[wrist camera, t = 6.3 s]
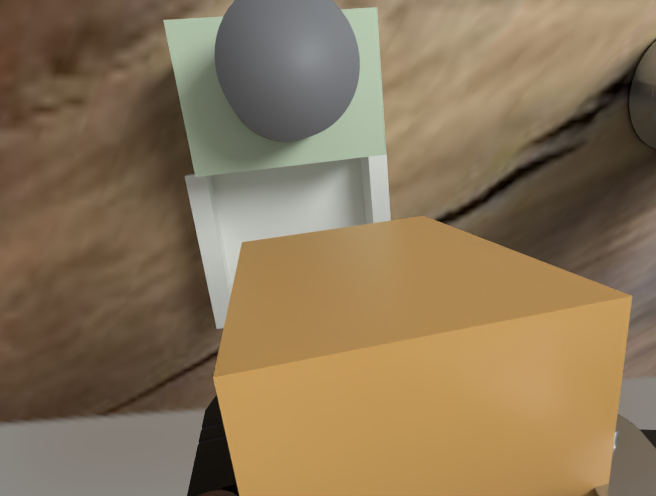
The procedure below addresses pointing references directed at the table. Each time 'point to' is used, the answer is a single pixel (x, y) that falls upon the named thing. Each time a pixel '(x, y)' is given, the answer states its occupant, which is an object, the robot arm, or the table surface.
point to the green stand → (279, 125)
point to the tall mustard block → (417, 367)
